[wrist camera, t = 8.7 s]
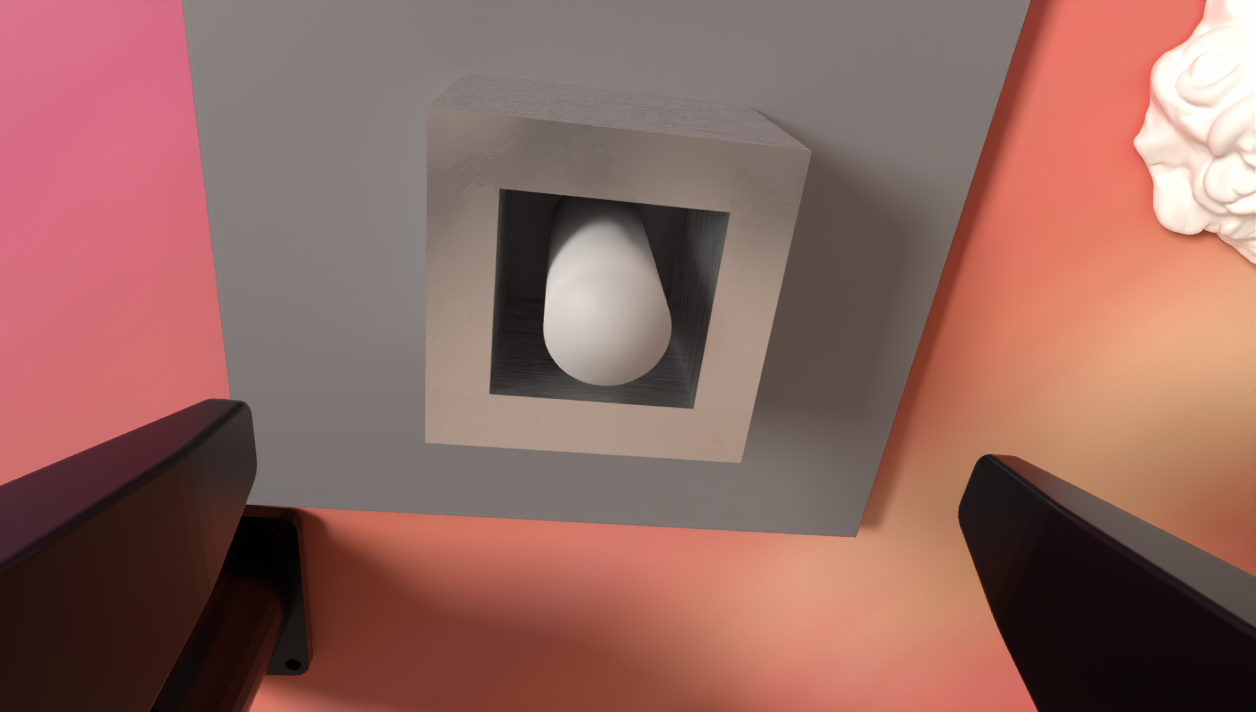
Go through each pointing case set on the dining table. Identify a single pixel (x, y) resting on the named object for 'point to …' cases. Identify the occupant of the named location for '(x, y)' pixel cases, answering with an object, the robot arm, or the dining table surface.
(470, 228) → the grey hollow square block
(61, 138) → the dining table surface
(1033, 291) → the dining table surface
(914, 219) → the post plate
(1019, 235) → the dining table surface
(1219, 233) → the cherub figurine
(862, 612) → the dining table surface
